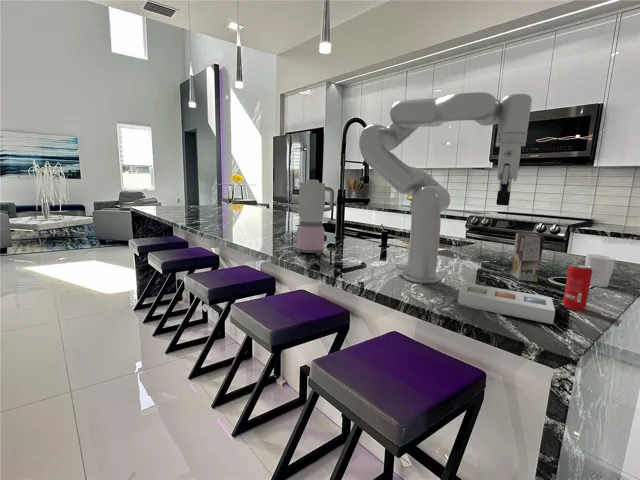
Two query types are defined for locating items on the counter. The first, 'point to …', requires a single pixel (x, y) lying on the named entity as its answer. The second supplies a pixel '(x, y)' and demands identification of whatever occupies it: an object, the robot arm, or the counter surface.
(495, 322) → the counter surface
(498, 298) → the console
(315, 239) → the blender
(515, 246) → the coffee box
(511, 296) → the button terracotta
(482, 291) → the button sage
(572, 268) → the beverage can
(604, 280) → the white cup
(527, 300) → the button slate
